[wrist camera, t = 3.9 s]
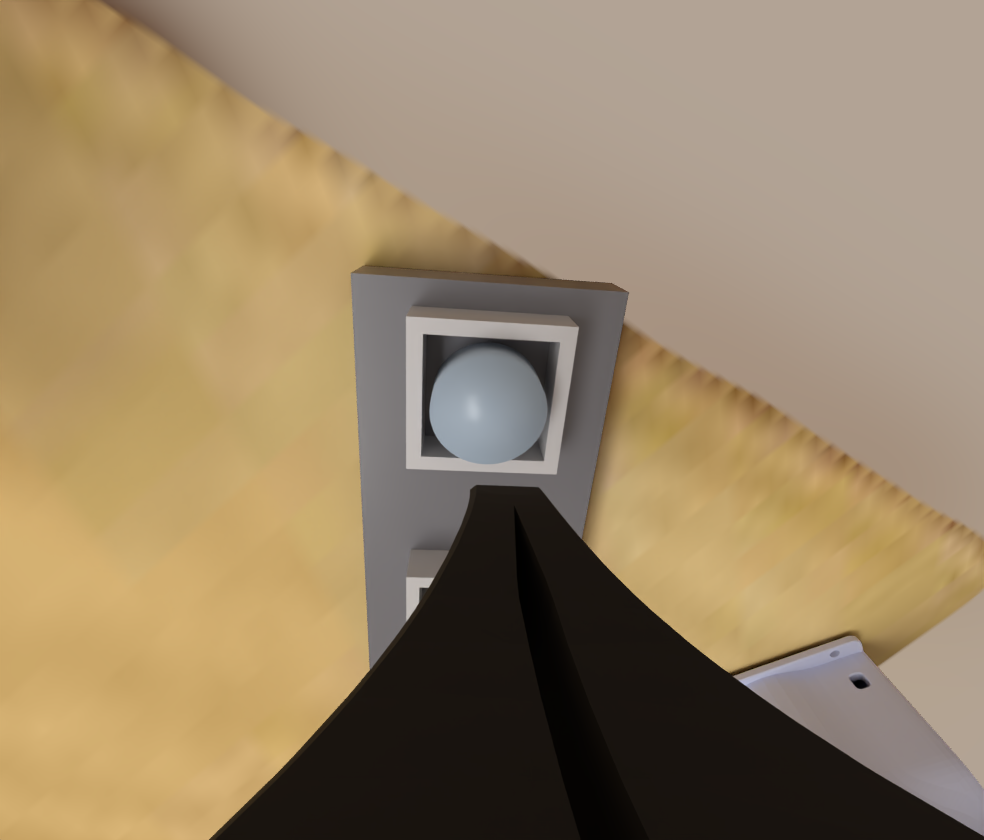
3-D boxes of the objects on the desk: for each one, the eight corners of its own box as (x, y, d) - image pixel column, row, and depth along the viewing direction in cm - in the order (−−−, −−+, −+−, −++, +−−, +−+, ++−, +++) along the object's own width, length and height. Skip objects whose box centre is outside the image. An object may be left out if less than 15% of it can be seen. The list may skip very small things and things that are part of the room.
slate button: (433, 339, 15) (430, 352, 13) (546, 345, 15) (554, 359, 14) (431, 440, 16) (428, 462, 15) (533, 444, 17) (540, 466, 15)
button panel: (363, 265, 17) (338, 280, 13) (611, 283, 17) (645, 301, 14) (381, 742, 28) (369, 814, 24) (531, 741, 28) (540, 811, 25)
